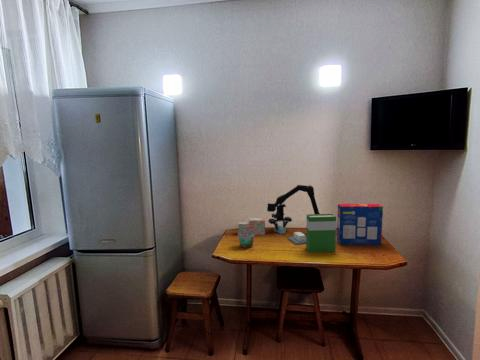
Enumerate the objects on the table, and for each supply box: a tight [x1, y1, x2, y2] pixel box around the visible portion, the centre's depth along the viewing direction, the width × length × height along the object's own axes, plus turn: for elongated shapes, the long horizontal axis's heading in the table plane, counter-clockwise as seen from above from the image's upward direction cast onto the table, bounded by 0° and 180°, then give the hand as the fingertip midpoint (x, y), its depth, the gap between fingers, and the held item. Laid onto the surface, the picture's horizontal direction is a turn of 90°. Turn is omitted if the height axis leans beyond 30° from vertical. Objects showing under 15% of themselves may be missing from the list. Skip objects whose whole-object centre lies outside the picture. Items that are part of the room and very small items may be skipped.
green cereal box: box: [305, 213, 337, 253], centre depth 183 cm, size 18×7×24 cm, turn 90°
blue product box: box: [336, 203, 384, 247], centre depth 193 cm, size 28×8×28 cm, turn 83°
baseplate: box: [288, 236, 306, 246], centre depth 201 cm, size 12×12×2 cm
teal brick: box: [274, 224, 286, 234], centre depth 222 cm, size 5×8×4 cm, turn 33°
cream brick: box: [293, 231, 306, 241], centre depth 201 cm, size 5×8×4 cm, turn 19°
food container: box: [237, 231, 255, 250], centre depth 191 cm, size 12×6×10 cm, turn 68°
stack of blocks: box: [238, 217, 266, 236], centre depth 219 cm, size 21×6×12 cm, turn 88°
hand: (280, 230), depth 222 cm, fingers closed on teal brick, 6 cm apart
